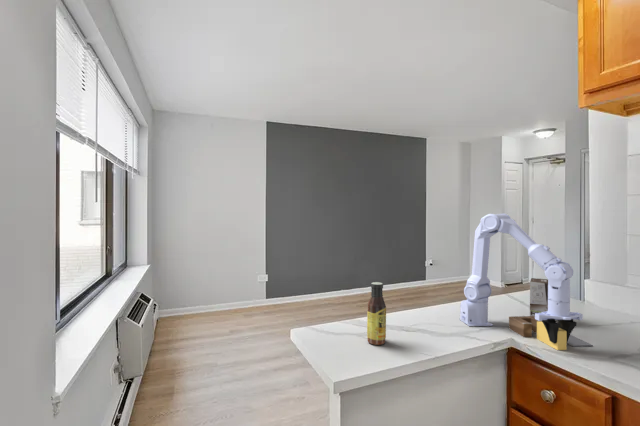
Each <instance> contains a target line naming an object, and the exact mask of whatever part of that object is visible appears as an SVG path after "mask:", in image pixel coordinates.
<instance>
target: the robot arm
mask: <svg viewBox="0 0 640 426" xmlns="http://www.w3.org/2000/svg"><path fill="white" fill-rule="evenodd" d="M497 233H502V234H508V235H510V236H511V237H512V238H513V239H514V240H516V241H517V242H518V243H519V244H520V245H521V246H522V247H524V248H525V250H527V255H528V257H529V258H531V260H533V262H534V263H536V265H538V267H540V269H542V270H543V271H544V276H545V277H546V279H548V311H546V312H541V313H535V319H536V320H538V321H542V322H543V324H544V326H545V328H546V330H547V333H548V336H549V340H550V341H551V342H552V343H557V334H558V329H559V328H561V329H563V330H565V331H567V342H568V339H569V336H570V335H572V332H573V331H574V329H575V328H576V327H577V322H576V321H575V320H578V321H583V319H584V316H583V313H580V312H579V311H578V312H577V311H576V312H574V311H573V312H572V311H571V278H572V277H573V276H574V269H573V267H572V266H571V264H570V263H569V262H566V261H563V260H562V259H561V257H557V256H556V255H555V254H554V252H552V251H551V250H550V249H551V248H550V247H549V246H548V245H544V244H542V243H540V244H539V243H536V242H535V240H534V239H533V238H532V237H531V236H529V234H528V233H526V231H524V229H522V227H521V226H520V225H519V224H518V223H517V222H516V220H515V219H513V218H511V216H510V215H509V214H508V213H495V214H494V213H487V214H486V215H483V217H481V218H480V221H479V224H478V226H477V227H476V229H475V231H474V240H473V242H474V243H473V253H472V267H471V275H470V277H468V279H467V280H466V284H465V287H464V288H463V293H464V296H465V298H466V299H463V300H461V301H460V306H459V308H460V315H459V316H460V317H459V320H460V321H461V322H462V323H464V324H465V325H467V326H469V327H489V326H490V327H493V326H494V324H493V323H491V322H489V297H490V296H491V295H492V287H491V281H490V279H489V277H488V270H489V269H488V268H489V257H490V245H491V238H492V236H494V235H496V234H497Z"/></svg>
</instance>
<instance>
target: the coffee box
mask: <svg viewBox="0 0 640 426" xmlns="http://www.w3.org/2000/svg"><path fill="white" fill-rule="evenodd" d="M529 282H530V283H529V316H535V313H541V312H546V311H548V279H547V278H535V277H533V278H532V277H531V279H530V281H529Z"/></svg>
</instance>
